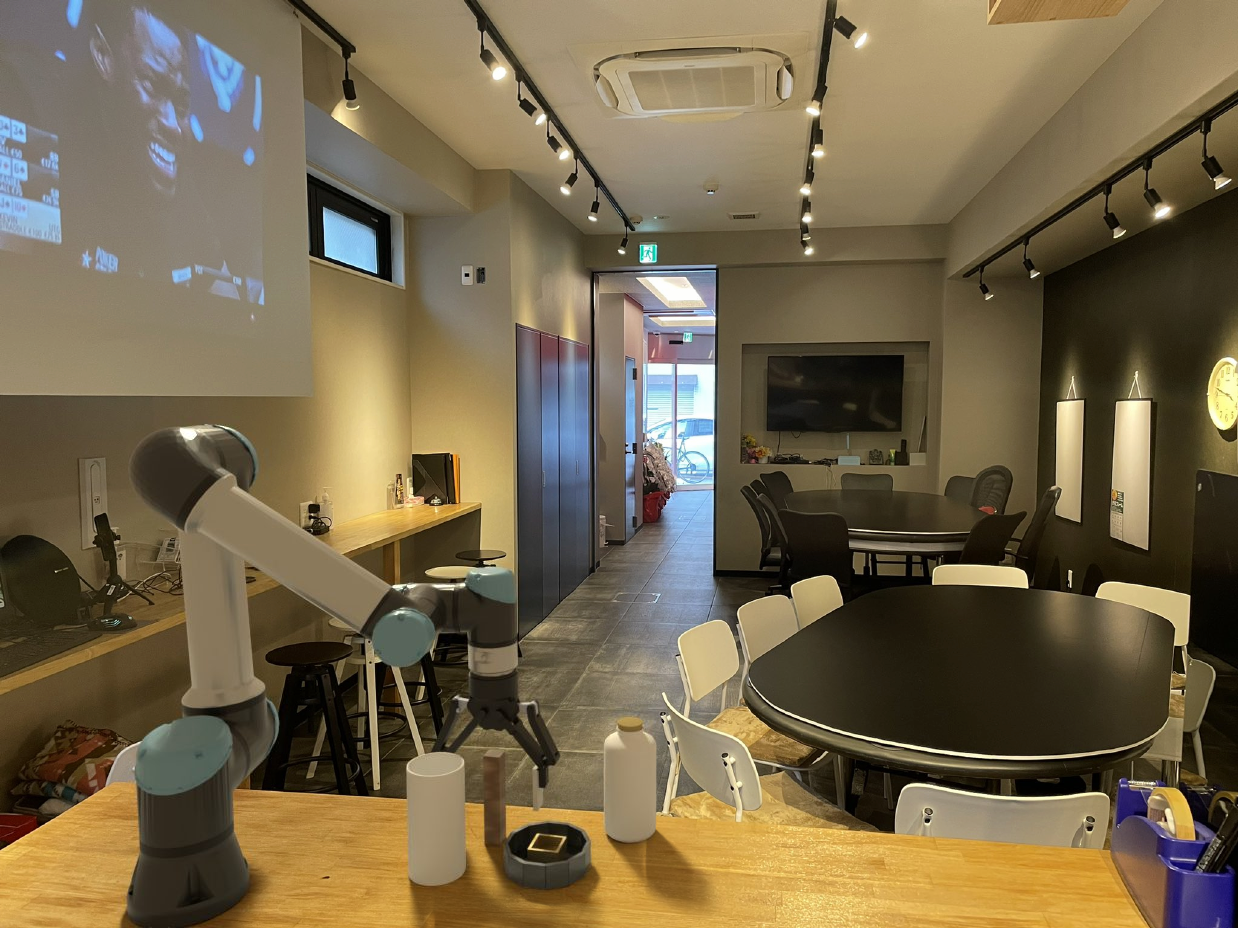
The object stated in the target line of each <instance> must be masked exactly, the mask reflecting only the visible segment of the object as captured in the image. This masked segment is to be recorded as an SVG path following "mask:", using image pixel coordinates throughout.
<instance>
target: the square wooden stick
mask: <svg viewBox="0 0 1238 928" xmlns="http://www.w3.org/2000/svg"><path fill="white" fill-rule="evenodd" d="M482 758H483V760H482V761H483V762H482V763H483V766H482V767H483V769H482V771H483V773H482V774H483V823H484V824H483V830H484V831H483V834H484V835H483V836H484V837H483V838H484V840H483V841H484V842H483V843H484V845H492V846H499V847H500V846H502V844H504V842H505V840H506V839H507V802H506V801H507V796H506V795H507V794H506V792H507V791H506V789H507V788H506V787H507V786H506V783H507V782H506V750H503V749H502V750H501V749H493V748H492V749H491V748H490V749H488V750H487V751H486V753H484V755H483V757H482Z"/></svg>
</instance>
